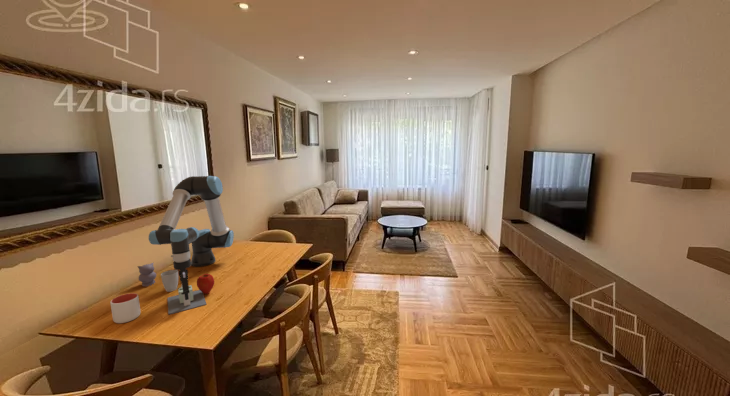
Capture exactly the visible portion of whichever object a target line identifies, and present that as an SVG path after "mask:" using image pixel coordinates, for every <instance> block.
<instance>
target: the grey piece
mask: <svg viewBox="0 0 730 396" xmlns="http://www.w3.org/2000/svg"><path fill="white" fill-rule="evenodd" d="M193 299H194V300H193V301H190V303H191V305H187V306H184V303H181V304H180V301H179V294H176V295H173V296H169V297H167V313H168V315H169V316H170V315H173V314H174V315H175V314H176V313H181V312H184V311H187V310H191V309H195V308H199V307H200V308H201V307H203V306H206V305H207V302H206V299H205V294H204V293H203V292H202V291H200V290H199V289H198V290H193Z"/></svg>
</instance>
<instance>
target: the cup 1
mask: <svg viewBox="0 0 730 396" xmlns="http://www.w3.org/2000/svg"><path fill="white" fill-rule="evenodd" d="M139 297H140V296H139V294H138V293H135V292H133V293H132V292H131V293H124V294H120V295H118V296H115V297H114V298H112V299H111V300H110V303H109V304H110V308H111V314H112V315H111V316H112V321H113V322H114V323H116V324H124V323H129V322H131V321H133V320H136V319H137V318H139V316H140V315H141V306H140V299H139Z"/></svg>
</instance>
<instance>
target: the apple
mask: <svg viewBox="0 0 730 396" xmlns="http://www.w3.org/2000/svg"><path fill="white" fill-rule="evenodd" d="M196 286H197V289H198V290H200V291H202V292H203V295H208V294H210V292H211V291H212V289H213V288H214V286H215V278H214V276H213V275H212V274H210V273H202V274H201V275H200V276H198V278H197V280H196Z"/></svg>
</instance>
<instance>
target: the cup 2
mask: <svg viewBox="0 0 730 396" xmlns="http://www.w3.org/2000/svg"><path fill="white" fill-rule="evenodd" d="M178 271H179V270H176V269H171V270H170V269H169V270H165V271H162V273H160V278H161V282H162V285H163V288H164V290H165V292H166V293H167V292H168V293H169V292H173V291H177V290H178V286H179V285H178V284H179V272H178Z"/></svg>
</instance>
